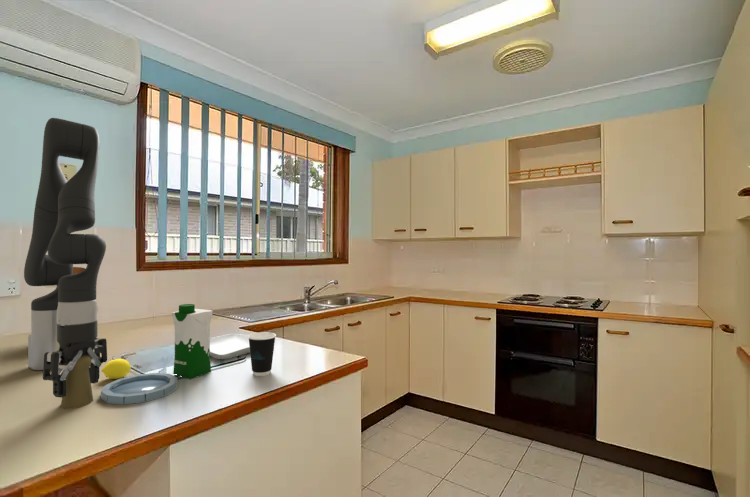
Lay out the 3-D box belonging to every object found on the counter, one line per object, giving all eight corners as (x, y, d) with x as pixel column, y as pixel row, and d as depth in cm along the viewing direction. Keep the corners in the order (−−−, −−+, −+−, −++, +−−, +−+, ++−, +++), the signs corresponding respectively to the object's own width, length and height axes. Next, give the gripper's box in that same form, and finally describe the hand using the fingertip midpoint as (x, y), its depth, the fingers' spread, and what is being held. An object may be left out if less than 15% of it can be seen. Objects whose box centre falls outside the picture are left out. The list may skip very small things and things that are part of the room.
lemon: (125, 375, 111) (128, 355, 111) (133, 379, 107) (136, 359, 108) (96, 378, 105) (100, 358, 106) (103, 382, 102) (107, 362, 102)
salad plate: (273, 349, 138) (273, 340, 138) (221, 365, 120) (221, 354, 120) (234, 340, 150) (234, 332, 150) (182, 353, 132) (182, 343, 132)
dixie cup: (249, 379, 107) (249, 339, 107) (245, 370, 114) (246, 333, 114) (278, 375, 110) (278, 337, 110) (273, 367, 118) (273, 331, 117)
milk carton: (167, 376, 109) (168, 305, 108) (195, 367, 117) (195, 300, 117) (190, 381, 105) (190, 307, 105) (216, 371, 113) (217, 303, 113)
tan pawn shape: (75, 409, 87) (75, 360, 86) (53, 407, 88) (53, 358, 88) (99, 399, 92) (100, 353, 92) (78, 396, 94) (79, 351, 94)
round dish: (84, 401, 91) (84, 393, 91) (135, 378, 107) (135, 371, 107) (146, 406, 89) (147, 398, 89) (189, 381, 105) (189, 375, 105)
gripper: (89, 313, 97) (89, 378, 98) (32, 325, 83) (32, 400, 83) (116, 315, 96) (116, 379, 97) (63, 327, 82) (63, 403, 82)
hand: (77, 389), depth 90 cm, fingers open, 8 cm apart
